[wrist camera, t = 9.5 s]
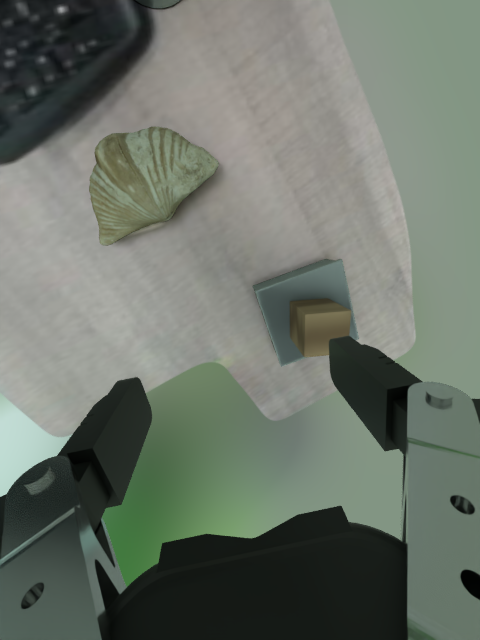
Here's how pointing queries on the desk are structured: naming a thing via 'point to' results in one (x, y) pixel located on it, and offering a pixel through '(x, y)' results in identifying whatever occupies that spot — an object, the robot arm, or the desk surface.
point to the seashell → (144, 179)
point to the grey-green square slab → (296, 286)
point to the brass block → (317, 325)
